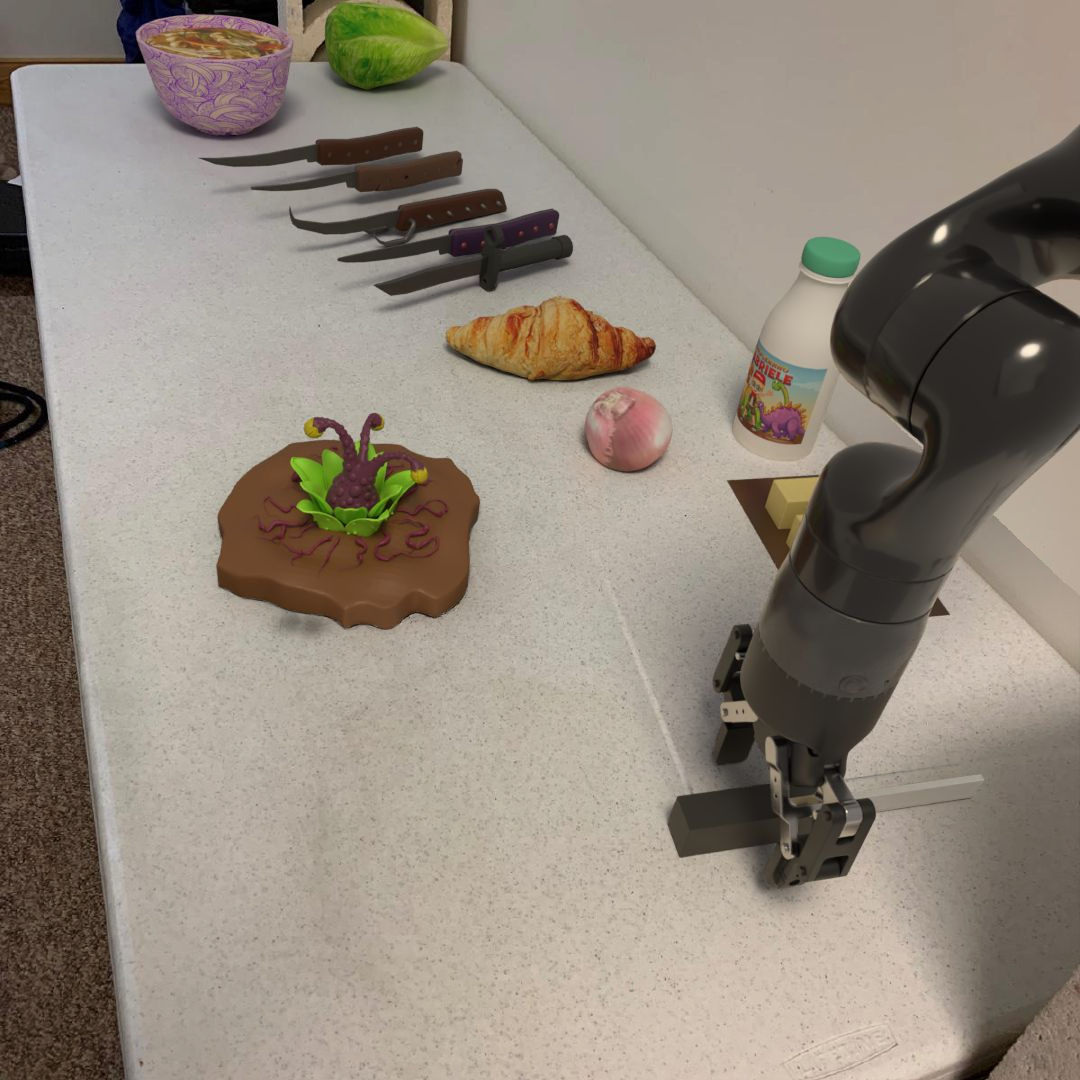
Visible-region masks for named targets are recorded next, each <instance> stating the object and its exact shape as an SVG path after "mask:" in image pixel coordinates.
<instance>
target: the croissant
mask: <svg viewBox="0 0 1080 1080" xmlns="http://www.w3.org/2000/svg"><path fill="white" fill-rule="evenodd" d="M445 342H446V343H447V344H448V345H449V346H450V347H451V348H452V349H453V350H455V351H457V352H459V354H462V355H464V356H467V357H469V358H471V359H472V360H473V361H475V362H477V363H481V364H483V365H486V366H490V367H493V368H495V369H497V370H499V371H502V372H507V373H510V374H512V375H515V376H519V377H522V378H525V379H528V380H529V381H535V380H536V381H537V380H542V379H545V380H550V381H571V380H580V379H584V378H589V377H592V376H598V375H603V374H611V373H615V372H619V371H623V370H628V369H631V368H634V367H635V366H637V365H639V364H641V363H643V362H645V361H646V360H648V359H650V358H651V357H652V356H653V355H654V354H655V352H656V350H657V345H656V342H655V339H653V338H651V337H649V336H645V337H641V336H638V335H637V334H635V332H634V331H632V330H631V329H629V328H626V327H624V326H614V325H612V324H611V323H610V322H609V321H608V320H607V319H605V318H604V317H603V316H601V315H599V314H596V313H594V311H593V310H586V309H585V308H584V306H582V304H580V302H579V301H577V300H576V299H574V298H569V297H564V296H561V295H559V296H558V295H557V296H553V297H551V298H548V299H545V300H543V301H542V302H541V303H540V304H539V305H536V306H534V305H522V306H517V307H513V308H509V310H507V311H506V312H505V313H503V314H497V315H495V316H494V315H492V316H479V317H478V318H475V319H473V320H471V321H469V322H467V323H466V324H465V325H464V326H463V325H455V326H450V327H448V329H447V330H446V331H445Z"/></svg>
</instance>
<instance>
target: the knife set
mask: <svg viewBox="0 0 1080 1080" xmlns="http://www.w3.org/2000/svg"><path fill="white" fill-rule="evenodd" d="M424 133H425V132H424V130H423V129H422V128H421V127H418V126H412V127H405V128H399V129H394V130H389V131H385V132H380V133H376V134H370V135H365V136H358V137H351V138H319V139H316V140H315V143H313V144H309V145H304V146H299V147H293V148H288V149H283V150H282V149H281V150H276V151H271V152H266V153H257V154H250V155H249V154H248V155H239V156H238V155H235V156H224V157H198V159H200V160H202V161H206V162H208V163H211V164H214V165H217V166H225V167H232V168H247V167H248V168H251V167H255V168H256V167H271V166H272V167H273V166H277V165H284V164H290V163H294V162H295V163H296V162H299V161H300V162H301V161H304V160H306V162H307V163H308V164H310V163H317V164H318V165H320V166H324V167H325V166H352V165H355V166H354V168H353V170H350V171H345V172H341V173H336V174H331V175H325V176H321V177H316V178H312V179H307V180H301V181H294V182H287V183H278V184H269V185H256V186H250V190H251V191H262V192H263V191H264V192H295V191H306V190H307V191H308V190H313V189H319V188H325V187H329V186H334V185H338V184H343V183H345V184H346V188H348V189H355V190H356V191H357V192H359V193H372V192H391V191H392V192H393V191H397V190H402V189H407V188H412V187H416V186H420V185H424V184H428V183H431V182H434V181H439V180H445V179H448V178H455V177H459V176H462V174H463V164H464V159H463V158H462V153H461V152H460V151H458V150H452V151H446V152H445V151H444V152H440V153H436V154H431V155H427V156H423V157H419V158H415V159H411V160H405V161H401V162H394V163H389V164H364V163H369V162H375V161H380V160H384V159H387V158H391V157H396V156H400V155H404V154H406V155H407V154H411V153H419V152H421V151H422V150H423V144H424ZM357 164H358V165H357ZM360 164H361V165H360ZM507 209H508V206H507V204H506V199H505V196H504V193H503V192H502V191H501V190H500V189H498V188H483V189H477V190H474V191H473V190H471V191H467V192H466V191H465V192H460V193H457V194H451V195H446V196H440V197H435V198H429V199H423V200H419V201H418V200H417V201H414V202H408V203H403V204H400V205H398V206H397V209H395V210H390V211H385V212H381V213H376V214H373V215H369V216H368V215H367V216H364V217H359V218H358V217H357V218H352V219H347V220H341V221H330V222H329V221H328V222H320V221H315V220H314V221H312V220H304V219H299V218H295V216H294V214H293V212H292V207H291V206H289V208H288V213H289V218H290V221H291V224H292V225H293V226H294V227H295V228H297V229H300V230H303V231H308V232H313V233H317V234H321V235H349V234H350V235H351V234H355V233H362V232H364V233H365V234H368V235H373V237H374V239H375V241H376V242H378V244H380V245H382V246H384V247H382V248H376V249H372V250H367V251H363V252H359V253H354V254H353V253H352V254H349V255H344V256H340V257H338V258H337V259H336V261H337V262H340V263H347V264H348V263H349V264H350V263H351V264H352V263H354V264H355V263H371V262H381V261H388V260H394V259H395V260H396V259H402V258H407V257H408V258H409V257H413V256H419V255H424V254H428V253H429V254H430V253H433V252H438V255H440V256H443V255H447V254H448V255H450V256H451V257H453V258H460V257H468V256H473V255H478V256H474V257H469V258H465V259H461V260H455V261H451V262H447V263H442V264H438V265H433V266H430V267H425V268H422V269H419V270H416V271H414V272H411V273H408V274H405V275H401V276H398V277H395V278H392V279H388V280H385V281H382V282H377V283H373V284H372V286H374V287H375V288H376V289H378V290H380V291H381V292H383V293H384V294H386V295H388V296H390V297H393V296H400V295H401V296H402V295H409V294H412V293H416V292H419V291H422V290H425V289H428V288H432V287H436V286H438V285H442V284H447V283H451V282H455V281H459V280H462V279H466V278H471V277H475V276H478V285H479V286H480V287H481V288H483V289H484V290H486V291H487V292H491V291H494V290H496V287H497V283H498V280H499V276H500V273H503V272H507V271H511V270H515V269H521V268H524V267H528V266H531V265H532V266H533V265H535V264H540V263H545V262H548V261H552V260H555V261H559V260H563V259H567V258H570V257H571V256H572V254H573V253H574V244H573V241H572V239H571V237H569V236H568V235H567V234H562V235H557V236H555V235H556V233H557V230H558V225H559V222H560V221H559V220H560V212H559V211H557V210H556V209H554V208H553V207H552V208H548V209H547V208H546V209H542V210H538V211H534V212H531V213H526V214H524V215H520V216H517V217H514V218H511V219H507V220H503V221H499V222H496V223H495V222H494V223H487V224H482V225H481V224H480V225H474V226H467V227H457V228H451V229H449V230H448V234H443V235H440V236H436V237H431V238H426V239H422V240H421V239H420V240H416V241H412V242H408V241H409V240H410V239H411V236H413V233H414V232H415V230H418V229H424V228H428V227H429V228H430V227H433V226H434V227H435V226H439V225H444V224H449V223H453V222H457V221H462V220H467V219H472V218H477V217H483V216H487V215H493V214H497V213H501V212H505V211H507ZM392 229H395V230H396V231H397V232H400V233H401V232H406V233H405V235H404V236H403V237H400V238H395V239H391V240H387V241H384V240H380V238H378V237H377V236H376V234H378V233H379V234H380V233H384V232H388V231H390V230H392ZM550 236H553V237H550ZM545 237H550V239H546V240H541V241H537V242H532V243H528V242H531V241H534V240H535V241H536V240H538V239H542V238H545ZM401 243H402V244H401ZM525 243H528V244H525ZM522 244H524V245H522Z"/></svg>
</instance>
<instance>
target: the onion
mask: <svg viewBox="0 0 1080 1080" xmlns="http://www.w3.org/2000/svg"><path fill="white" fill-rule="evenodd" d="M673 426H674V425H673V421H672V417H671V415H670V412H669V410H668V409H667V408H666V407H665V405H664V404H663V403H662V402H661V401H660V400H658V399H657V398H656V397H655V396H653V395H651V394H649V393H647V392H645V391H642V390H639V389H637V388H633V387H629V386H628V387H627V386H618V387H613V388H609V390H606V391H604V392H603V393H601V394H600V395H599V396H598V397H597V398H596V399H595V400H594V401H593V402H592V404H591V405H590V407H589V409H588V411H587V413H586V416H585V421H584V429H585V436H586V441H587V442H588V447H589V450H590V451H591V454H592V455H593V457H594V458H595V460H596V461H597V462H599V463H600V464H602V466H605V467H606V468H608V469H611V470H615V471H618V472H635V471H639V470H642V469H644V468H647V467H648V466H650V465H652V464H653V463H655V461H658V459H659V458H661V456H663V454H664V453H665V452H666V450H667V449H668V447H669V446H670V444H671V440H672V436H673V431H674V429H673V428H674V427H673Z"/></svg>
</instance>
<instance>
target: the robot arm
mask: <svg viewBox="0 0 1080 1080" xmlns="http://www.w3.org/2000/svg"><path fill="white" fill-rule="evenodd" d="M1059 280H1075V281H1080V123H1079V124H1078V125H1077V126H1076V127H1075V128H1074V129H1073V130H1072V131H1071V132H1070V133H1068V135H1067V136H1065V137H1064V138H1063V139H1062V140H1061V141H1060V142H1058V143H1057V144H1056V145H1053V146H1052V147H1050V148H1049V149H1047V150H1045V151H1044V152H1042V153H1040V154H1038V155H1036V156H1034V157H1032V158H1031V159H1029V160H1026V161H1024V162H1023V163H1021V164H1018V165H1017V166H1015V167H1014V168H1012V169H1009V170H1008V171H1006V172H1004V173H1002V174H1001V175H999V176H998V177H996V178H994V179H993V180H991V181H989V182H988V183H986V184H984V185H982V186H981V187H979V188H977V189H976V190H974V191H972V192H970V193H968V194H966V195H965V196H963V197H961V198H960V199H958V200H956V201H954V202H952V203H951V204H948V205H947V206H945V207H944V208H942V209H940V210H938V211H936V212H935V213H933V214H932V215H930V216H928V217H926V218H924V219H923V220H921V221H919V222H917V223H916V224H915V225H913V226H912V227H910V228H908V229H907V230H905V231H904V232H902V233H900V234H899V235H898V236H897V237H895V238H893V240H891V241H890V242H889V243H887V244H886V245H885V246H884V247H882V248H881V249H880V250H879V251H878V252H876V253H875V255H873V256H872V257H871V258H870V259H869V260H868V262H866V264H865V265H864V266H863V267H862V268H861V269H860V270H859V271H858V273H857V274H856V275H855V276H854V279H853V280H852V281H851V282H850V283H849V284H848V288H847V290H846V291H845V293H844V295H843V297H842V299H841V301H840V303H839V305H838V307H837V310H836V312H835V315H834V319H833V323H832V327H831V332H830V350H831V355H832V358H833V361H834V363H835V365H836V367H837V369H838V370H839V372H840V375H841V376H842V377H843V378H844V380H846V382H847V383H848V384H849V385H850V386H852V387H854V389H855V390H856V391H858V392H859V393H860V394H861V395H862V396H863V397H865V398H866V399H867V400H868V401H869V402H871V403H872V404H873V405H875V406H876V407H877V408H878V409H879V410H880V411H882V412H883V413H885V415H887V416H888V417H889V418H891V420H893V421H894V422H895V423H897V424H898V425H899V426H900V427H901V428H902V429H904V430H905V431H906V432H907V433H909V435H911V436H912V437H913V438H915V439H916V440H917V441H919V443H920V444H921V445H922V446H923V447H922V452H921V451H919V450H916V449H913V448H910V447H908V446H905V445H901V444H896V443H891V442H885V441H884V442H883V441H865V442H857V443H854V444H851V445H849V446H847V447H844V448H843V449H841V450H839V451H837V452H836V453H834V455H833V456H832V457H831V458H830V459H829V460H828V461H827V463H826V464H825V465H824V466H823V468H822V469H821V471H820V474H818V475H819V477H818V480H817V482H816V484H815V487H814V489H813V492H812V494H811V497H810V499H809V501H808V504H807V507H806V509H805V512H804V515H803V517H802V520H801V523H800V525H799V528H798V531H797V533H796V536H795V539H794V541H793V544H792V547H791V549H790V551H789V553H788V555H787V557H786V558H785V560H784V562H783V563H782V565H781V567H780V568H779V570H778V569H777V572H776V574H775V576H774V578H773V581H772V583H771V586H770V588H769V591H768V594H767V596H766V599H765V602H764V603H763V604H764V605H763V607H762V609H761V613H760V615H759V618H758V621H757V622H749V623H743V624H741V623H740V624H735V625H733V626H732V628H731V631H730V633H729V636H728V639H727V641H726V643H725V646H724V648H723V651H722V652H721V656H720V658H719V660H718V663H717V666H716V668H715V670H714V673H713V676H712V688H713V690H714V692H715V693H716V694H722V696H723V700H724V702H723V701H722V702H721V704H720V707H719V711H720V712H719V713H720V717H721V719H722V721H721V724H720V727H719V729H718V732H717V734H716V736H715V743H714V747H713V750H712V752H711V755H712V758H713V760H714V762H715V764H716V765H717V766H726V765H735V764H740V763H743V762H745V761H746V760H747V759H748V757H749V755H750V752H751V750H752V748H753V745H754V743H756V745H757V747H758V749H759V750H760V751H761V753H762V755H763V756H764V758H765V762H766V764H767V768H768V770H769V780H770V781H769V783H770V788H771V809H772V811H773V812H774V813H776V814H777V815H779V818H780V842H778V843H776V846H775V847H774V849H773V851H772V853H771V855H770V857H769V859H768V861H767V863H766V865H765V867H764V870H763V871H762V876H763V878H764V880H765V883H766V885H767V886H768V887H776V889H778V890H779V889H786V888H791V887H792V888H793V887H797V886H803V885H805V884H806V883H812V882H818V881H824V880H832V879H837V878H844V877H848V875H849V873H850V871H851V869H852V867H853V865H854V863H855V861H856V859H857V857H858V855H859V853H860V851H861V849H862V846H863V845H864V843H865V841H866V839H867V837H868V834H869V833H870V831H871V828H872V826H873V825H874V823H875V821H876V818H877V812H876V810H875V806H874V804H873V802H872V801H871V800H870V799H869V798H862V799H854V797H853V796H852V794H851V793H852V792H851V790H850V789H849V787H848V785H847V783H846V782H845V780H844V779H845V776H846V773H847V764H848V756H849V753H850V752H851V751H852V750H853V749H854V748H855V747H856V746H857V745H858V744H860V743H861V742H862V741H863V740H864V739H865V738H866V737H868V736H869V734H870V733H871V732H873V730H874V729H875V727H876V725H877V723H878V721H879V720H880V718H881V716H882V715H883V712H884V711H885V709H886V707H887V705H888V703H889V702H890V699H891V697H892V696H893V694H894V692H895V689H896V688H897V686H898V685H899V682H900V681H901V679H902V677H903V675H904V673H905V672H906V670H907V668H908V665H909V664H910V662H911V660H912V658H913V656H914V655H915V652H916V650H917V649H918V646H919V645H920V642H921V640H922V638H923V636H924V633H925V630H926V627H927V623H928V621H929V618H930V617H929V614H930V612H931V609H932V607H933V605H934V603H935V601H936V599H937V597H938V598H939V596H940V593H941V591H942V589H943V588H944V586H945V584H946V582H947V580H948V578H949V576H950V574H951V573H952V570H953V569H954V567H955V565H956V563H957V561H958V560H959V558H960V556H961V553H962V552H963V549H965V547H966V546H967V545H968V543H969V542H970V541H971V540H972V538H974V536H975V535H976V534H977V533H978V531H980V529H981V528H982V527H983V526H984V525H985V524H986V523H987V521H989V519H990V518H991V517H992V516H994V514H995V513H996V512H997V511H998V510H999V509H1000V507H1002V506H1003V505H1004V503H1005V502H1006V501H1007V500H1008V499H1009V498H1010V497H1011V496H1012V495H1013V494H1014V493H1015V492H1016V491H1017V490H1018V489H1019V488H1020V487H1021V486H1023V484H1024V483H1025V482H1026V481H1027V480H1029V479H1030V478H1031V477H1032V476H1034V474H1035V473H1036V472H1038V471H1039V470H1040V469H1041V468H1042V467H1044V466H1045V465H1046V464H1047V463H1048V462H1049V461H1050V460H1051V459H1052V458H1053V457H1054V456H1055V455H1056V454H1058V453H1059V452H1060V451H1061V450H1062V449H1063V448H1064V447H1065V446H1066V445H1068V443H1069V442H1071V440H1072V439H1073V438H1074V437H1075V436H1077V434H1078V433H1079V432H1080V315H1079V314H1078V313H1076V312H1075V311H1073V309H1071V308H1069V307H1068V306H1066V305H1065V304H1063V303H1061V302H1060V301H1058V300H1056V299H1055V298H1053V297H1051V296H1050V295H1048V294H1047V293H1044V292H1042V291H1040V289H1038V287H1039V286H1042V285H1044V284H1047V283H1051V282H1053V281H1059ZM789 787H805V788H818V789H817V791H816V792H815V793H814V794H813V795H810V796H803V797H796V798H789ZM807 817H811V821H812V829H811V831H810V833H804V834H798V821H799V820H800V819H801V818H807Z"/></svg>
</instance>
